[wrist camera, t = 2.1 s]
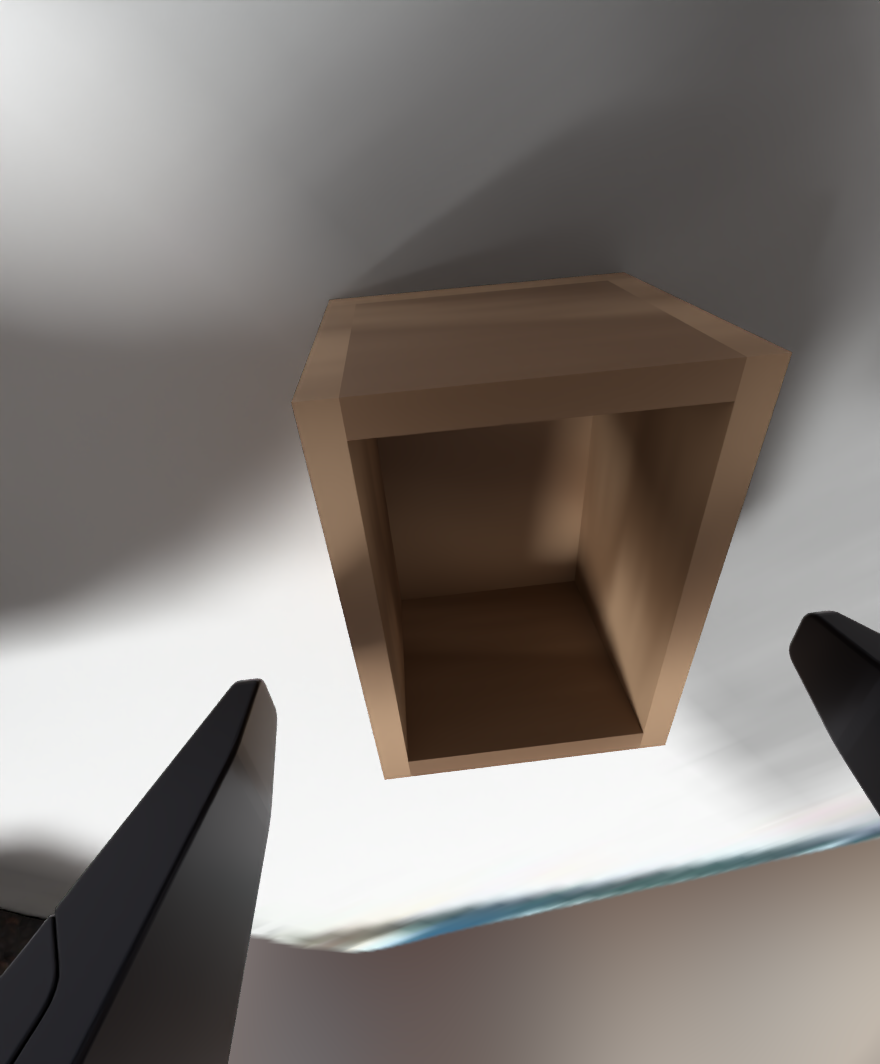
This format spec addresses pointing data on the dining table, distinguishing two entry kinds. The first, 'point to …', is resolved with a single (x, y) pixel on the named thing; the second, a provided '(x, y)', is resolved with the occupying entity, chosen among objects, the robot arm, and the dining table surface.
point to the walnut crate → (528, 507)
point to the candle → (15, 936)
